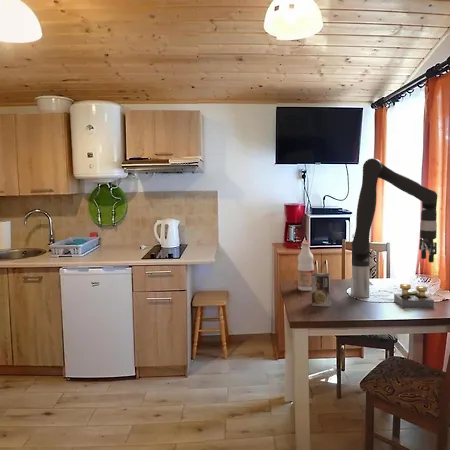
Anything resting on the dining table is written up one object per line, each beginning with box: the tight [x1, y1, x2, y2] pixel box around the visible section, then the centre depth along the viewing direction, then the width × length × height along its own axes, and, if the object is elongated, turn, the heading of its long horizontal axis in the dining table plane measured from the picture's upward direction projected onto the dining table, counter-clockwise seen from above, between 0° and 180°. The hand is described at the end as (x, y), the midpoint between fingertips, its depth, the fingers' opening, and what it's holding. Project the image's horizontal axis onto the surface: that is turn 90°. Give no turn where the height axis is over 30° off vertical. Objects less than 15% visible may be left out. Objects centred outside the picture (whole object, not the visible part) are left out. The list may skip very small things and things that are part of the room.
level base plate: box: [393, 290, 435, 309], centre depth 206 cm, size 15×12×6 cm
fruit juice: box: [297, 241, 315, 292], centre depth 240 cm, size 9×9×28 cm
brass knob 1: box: [399, 283, 412, 298], centre depth 205 cm, size 5×5×7 cm
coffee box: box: [311, 272, 331, 307], centre depth 210 cm, size 9×6×16 cm
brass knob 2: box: [415, 285, 428, 298], centre depth 205 cm, size 5×5×7 cm
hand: (427, 260), depth 207 cm, fingers open, 8 cm apart
